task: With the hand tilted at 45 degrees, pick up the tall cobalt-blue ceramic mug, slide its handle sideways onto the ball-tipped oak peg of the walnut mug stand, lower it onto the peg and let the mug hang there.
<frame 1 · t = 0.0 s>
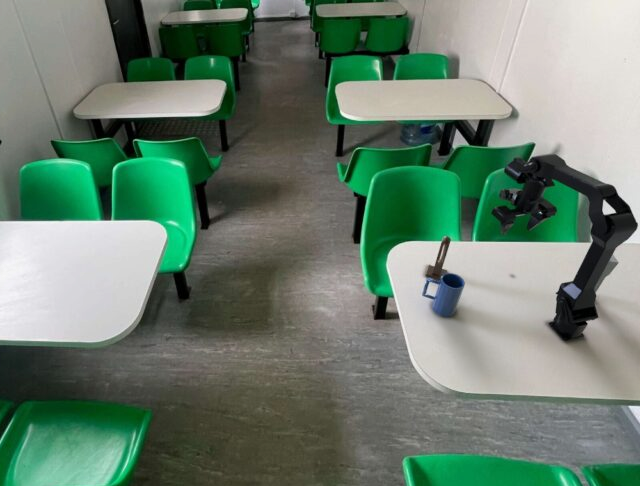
hand: (515, 231, 137), 15 cm above the table, tool pointing down, fingers open, 9 cm apart
mug: (443, 308, 131), on the table
vintage mobile phone: (582, 296, 133), on the table
mug rack: (435, 275, 143), on the table
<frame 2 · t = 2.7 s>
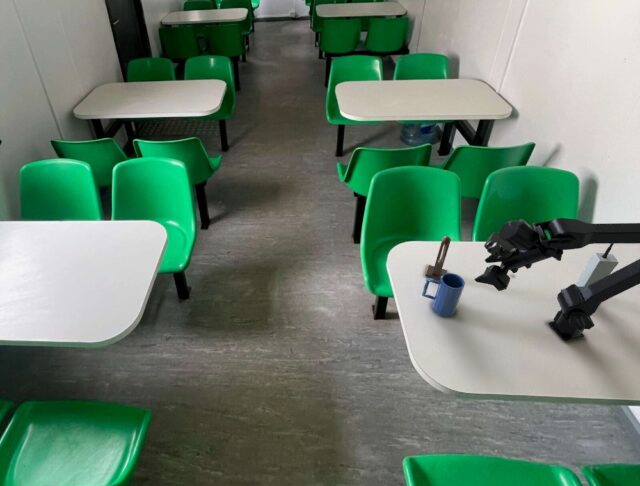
hand: (480, 270, 125), 14 cm above the table, tool tilted 35°, fingers open, 9 cm apart
nothing on the table moved.
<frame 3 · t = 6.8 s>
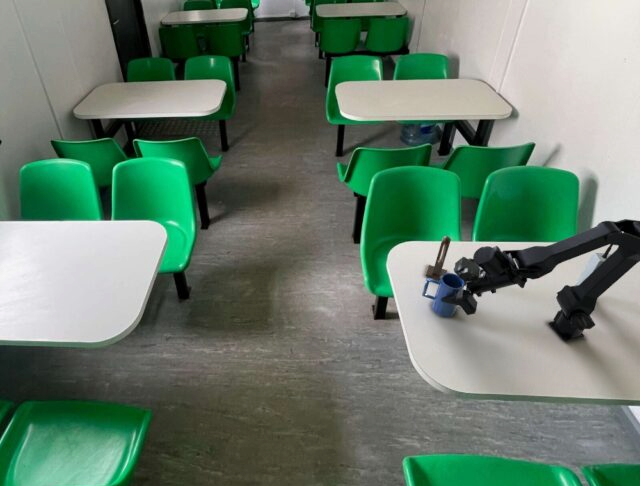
hand: (443, 292, 128), 7 cm above the table, tool tilted 45°, fingers closed on mug, 6 cm apart
mug: (443, 308, 131), on the table, touching gripper
everything else where it was.
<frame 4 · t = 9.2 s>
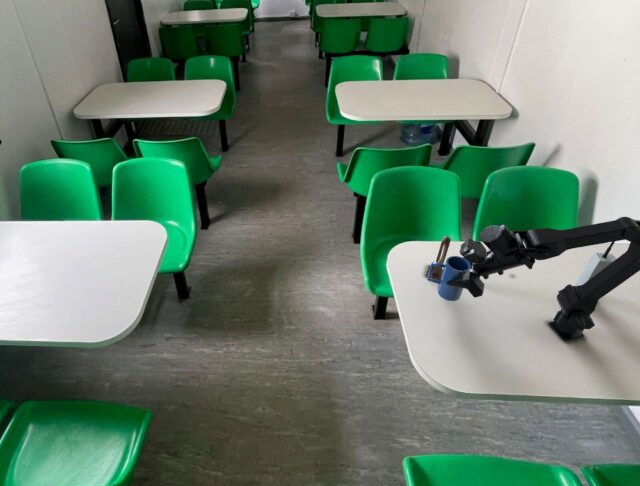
hand: (448, 276, 125), 13 cm above the table, tool tilted 45°, fingers closed on mug, 6 cm apart
mug: (448, 293, 128), point 6 cm above the table, touching gripper
everything else where it was.
when the fingers open (12 cm above the table, at t = 11.6 s): mug moves 1 cm, resting on mug rack.
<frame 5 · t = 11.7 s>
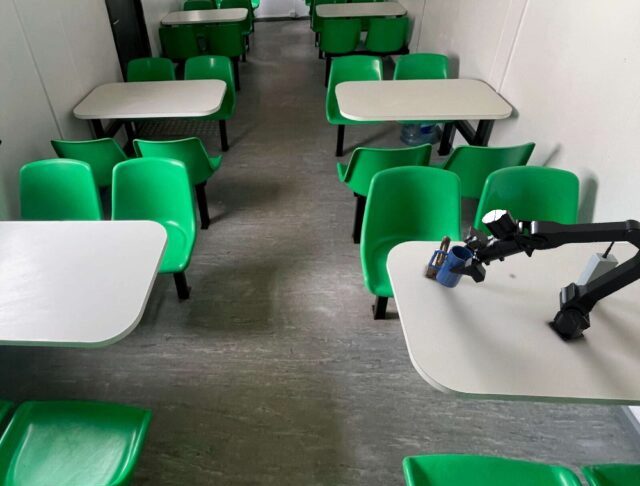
hand: (451, 263, 130), 12 cm above the table, tool tilted 45°, fingers open, 7 cm apart
mug: (446, 280, 134), point 5 cm above the table, tilted 8°, touching mug rack
everything else where it was.
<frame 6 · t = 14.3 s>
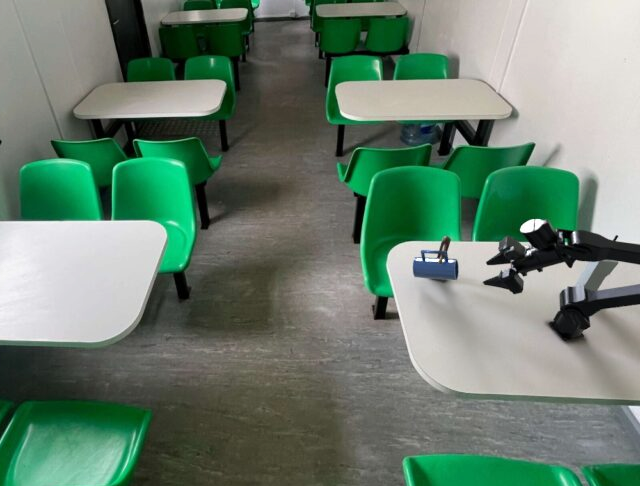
hand: (485, 273, 126), 12 cm above the table, tool tilted 45°, fingers open, 9 cm apart
mug: (415, 267, 137), point 7 cm above the table, tilted 71°, touching mug rack
everything else where it was.
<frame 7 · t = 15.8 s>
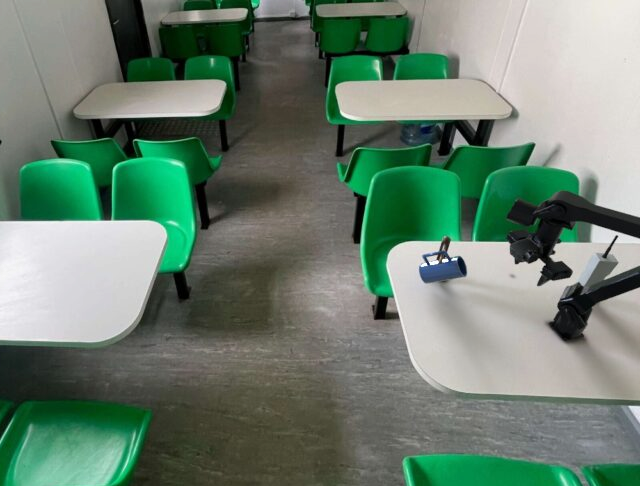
hand: (527, 274, 124), 13 cm above the table, tool pointing down, fingers open, 9 cm apart
mug: (424, 273, 137), point 5 cm above the table, tilted 53°, touching mug rack
everything else where it was.
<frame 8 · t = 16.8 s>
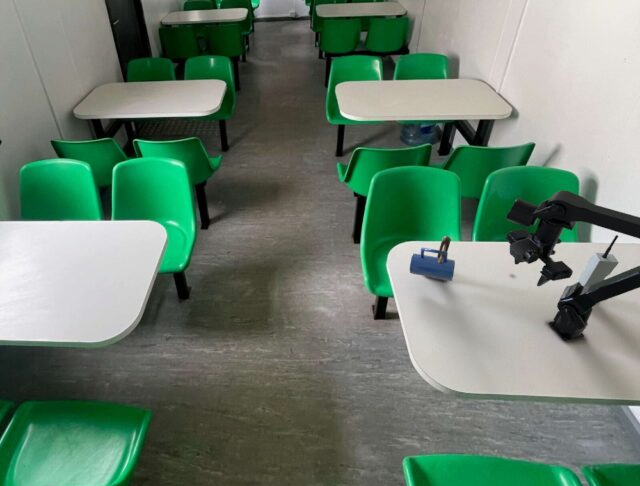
hand: (527, 274, 124), 13 cm above the table, tool pointing down, fingers open, 9 cm apart
mug: (411, 263, 137), point 8 cm above the table, tilted 80°, touching mug rack
everything else where it was.
at the end: mug touching mug rack; mug point 5.2 cm above the table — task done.
